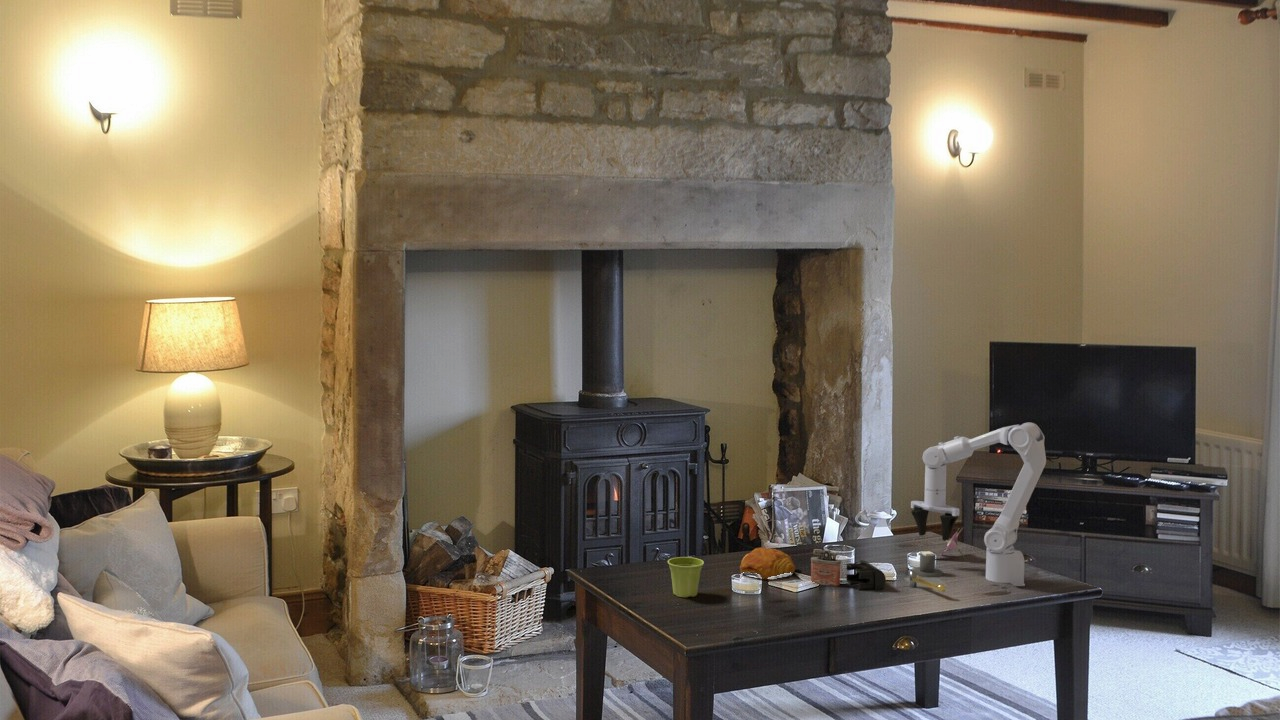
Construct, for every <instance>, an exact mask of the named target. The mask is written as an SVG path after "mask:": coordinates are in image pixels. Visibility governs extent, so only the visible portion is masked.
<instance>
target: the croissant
mask: <svg viewBox="0 0 1280 720" xmlns="http://www.w3.org/2000/svg"><path fill="white" fill-rule="evenodd" d="M739 569H740V570H739V572H740V574H741V573H743V572H750V573H757V574H760V575H761V577H762V578H763V579H762V580H767V579H766V578H768V577H771V576H777V575H780V574H784V573H790V572H791V573H793V572H794V573H795V571H796V565H795V563H794V561H793V559H792V557H791V555H789V554H787V553H785V552H783V551H782V550H779V549H776V548H770V547H769V548H767V547H762V546H760V547H756V548H754V549H753V550H752V551H750V552H749V553H747V554H745V555H744V556H743V558H742V560H741V563H740V566H739ZM764 578H765V579H764Z"/></svg>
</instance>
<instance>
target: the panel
mask: <svg viewBox="0 0 1280 720" xmlns="http://www.w3.org/2000/svg"><path fill="white" fill-rule="evenodd" d="M921 578H922V579H925V580H927V581H930V582H932V583H935V584H937V585H939V584H943V585H946V587H945V588H950V586H949V585H948V584H947V583H945V582H944V581H943V580H941V579H940V578H939V577H921ZM903 579H904V580H905V581H906V582H908V583H909V584H910V577H903ZM915 588H916V589H920V588H921V589H924V588H925V589H927V588H929V589H931V588H930V587H928V586H925V585H923V584H920V583H918V582H917V587H915Z"/></svg>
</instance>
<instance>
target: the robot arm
mask: <svg viewBox="0 0 1280 720" xmlns="http://www.w3.org/2000/svg"><path fill="white" fill-rule="evenodd" d="M1045 439H1046V438H1045V435H1044V433H1043V432H1042V430H1041V429H1040V427H1039V426H1038V425H1037V424H1036V423H1034V422H1024V423H1022V424H1013V425H1008V426H1003V427H1000V428H997V429H996V430H991V431H990V432H987V433H984V434H982V435H981V434H980V435H978V436H976V437H973V438H969V437H966V436H960V435H956V436H954V437H953V439H951V440H949V441H946V442H943V441H941V442H938V445H935V446H930V447H928V448H926V449H925V450H924V451H923V453H922V461H923V463H924V465H925V470H924V498H923V499H924V501H921V500H912V501H911V500H910V508H911V509H912V510H911V512H910V513H911V515H912V516H913V518H914V521H915V524H916V526H917V530H918V535H919V536H920V537H922V536H925V535H926V533H927V521H928V516H929V513H930V512H933V513H939V514H943V515H940V516H939V518H940V523H941V529H942V530H941V532H942V533H941V537H942V541H944V542H947V541H950V536H951V533H952V530H953V527H954V526H955V524H956V521H957V520H958V519H959V516H960V508H957V507H954V506H951V505H947V503H946V499H947V464H952V463H955V462H958V461H961V460H964V459H967V458H970V457H972V456H973V454H974V452H975V451H976V450H978V449H981V448H985V447H988V446H992V445H996V444H998V443H1000V444H1003V445H1006V446H1008V445H1010V446H1011V447H1012V448H1013V450H1014V451H1016V452H1017V453H1018V454H1019V455H1020V458H1021V460H1022V461H1023V465H1022V468H1021V470H1020V472H1019V474H1018V476H1017V478H1016V481H1015V483H1014V484H1013V487H1012V489H1011V491H1010V493H1009V495H1008V498H1007V499H1006V501H1005V504H1004V506H1003V509H1002V510H1001V513H1000V515H998V516H999V517H998V518H997V519H996V520H995V521H994V524H993V525H992V527H991V528H990V529H988V530H987V531H986V532H985V534H984V538H983V543H984V545H985V546H986V548H985V549H986V551H985V552H986V553H985V557H986V558H985V579H986V580H987V581H990V582H993V583H1001V584H1011V585H1012V586H1014V587H1025V586H1026V584H1025V558H1024V554H1023V553H1022V551H1021V550H1018V549H1017V550H1016V549H1015V546H1014V544H1015V543H1016V542H1017V540H1018V529H1019V526H1020V519H1021V518H1022V515H1023V514H1024V511H1025V509H1026V507H1027V505H1028V503H1029V501H1030V499H1031V497H1032V494H1033V492H1034V490H1035V488H1036V485H1037V483H1038V482H1039V481H1038V480H1039V479H1040V477H1041V475H1042V473H1043V470H1044V469H1045V466H1046V464H1047V457H1046V450H1045V449H1046V448H1045ZM946 540H947V541H946Z"/></svg>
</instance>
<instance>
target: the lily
mask: <svg viewBox="0 0 1280 720" xmlns="http://www.w3.org/2000/svg"><path fill="white" fill-rule="evenodd" d="M959 529H960V528H958V529H957V531H956V532H955V533H954V534H953V535H952V537H951V539H949V540H946V541H945V542H947V545H946V546H947V547H944V548H943V549H942V550H940V552H939V553H938V554H937V556H936V557H938V556H939V555H940V554H941V555H943V554H944V553H945V552H947V551H951V550H958V552H959V553H960V554H961V556H962V557H963V560H964V561H966V558H965V557H966V556H964V554H963V552H961V550H960V548H959V547H958V536H959V534H960V533H961V532H962V530H963V529H964V526H963V527H962V528H961V529H960V530H959ZM958 531H959V532H958Z"/></svg>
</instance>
